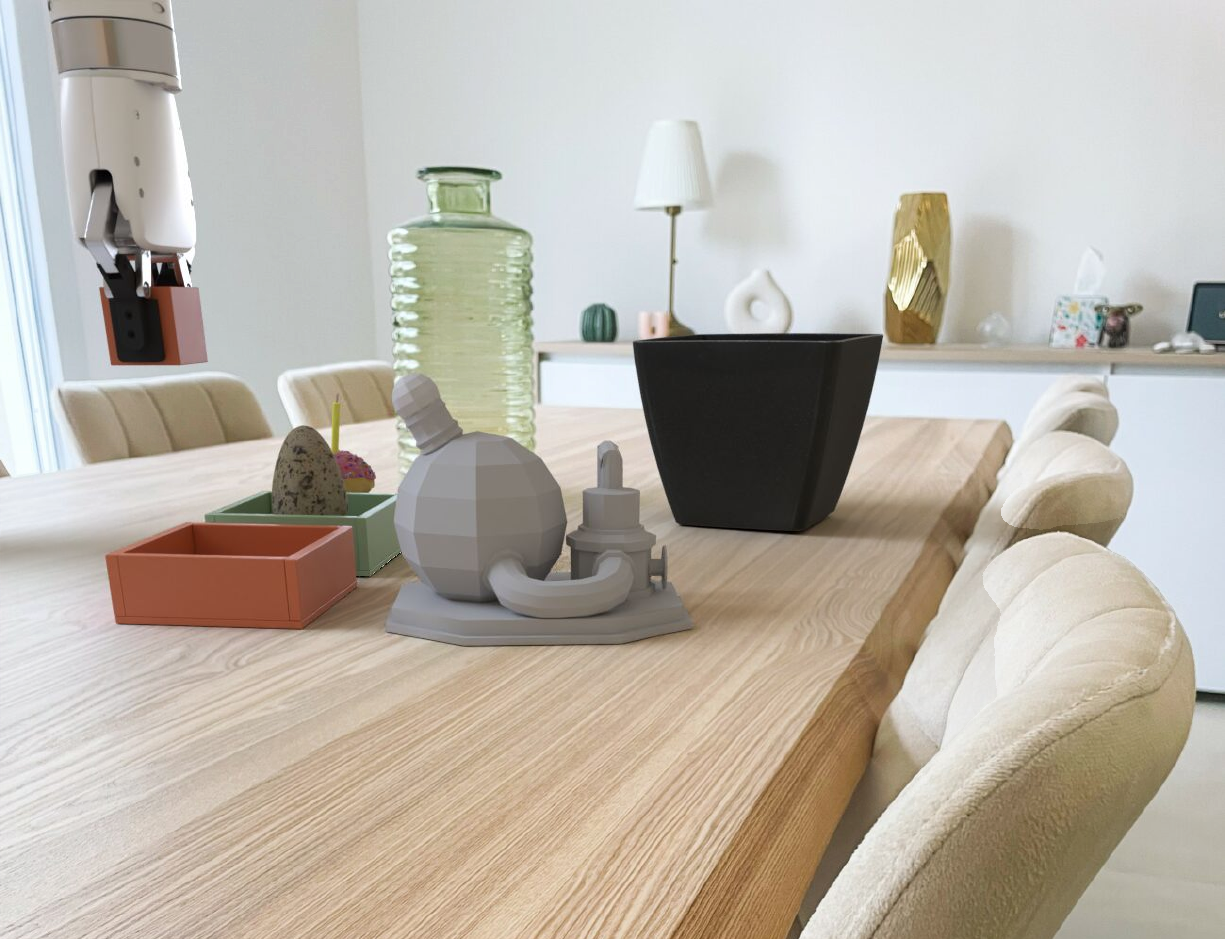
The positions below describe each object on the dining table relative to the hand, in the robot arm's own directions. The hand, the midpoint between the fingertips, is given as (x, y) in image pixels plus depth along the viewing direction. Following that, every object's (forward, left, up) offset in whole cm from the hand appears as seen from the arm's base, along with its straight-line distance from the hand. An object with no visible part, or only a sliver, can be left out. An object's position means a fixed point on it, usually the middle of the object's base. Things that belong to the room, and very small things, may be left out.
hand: (159, 357), depth 87 cm
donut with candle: (+4, +23, -16) cm, 28 cm away
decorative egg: (+7, +9, -16) cm, 19 cm away
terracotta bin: (+7, -7, -16) cm, 19 cm away
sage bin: (+7, +9, -16) cm, 19 cm away
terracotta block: (0, 0, 0) cm, 0 cm away
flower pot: (+43, +33, -16) cm, 56 cm away
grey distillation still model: (+28, -8, -16) cm, 33 cm away
